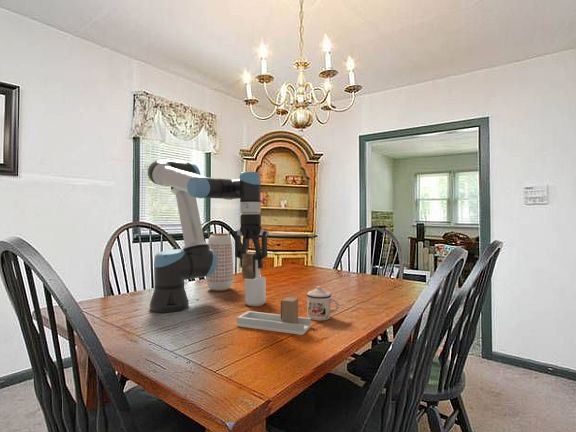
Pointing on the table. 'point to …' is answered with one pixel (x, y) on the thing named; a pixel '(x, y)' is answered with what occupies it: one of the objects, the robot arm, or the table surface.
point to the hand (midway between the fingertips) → (251, 276)
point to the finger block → (249, 265)
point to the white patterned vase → (221, 262)
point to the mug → (255, 291)
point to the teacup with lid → (319, 304)
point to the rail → (277, 319)
